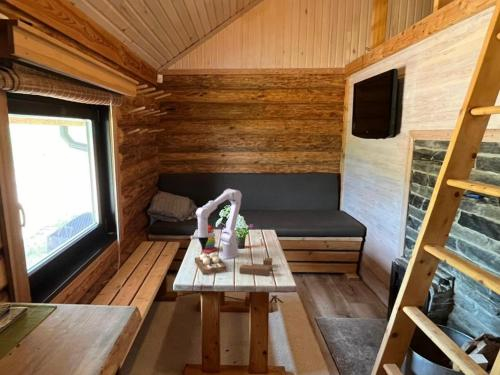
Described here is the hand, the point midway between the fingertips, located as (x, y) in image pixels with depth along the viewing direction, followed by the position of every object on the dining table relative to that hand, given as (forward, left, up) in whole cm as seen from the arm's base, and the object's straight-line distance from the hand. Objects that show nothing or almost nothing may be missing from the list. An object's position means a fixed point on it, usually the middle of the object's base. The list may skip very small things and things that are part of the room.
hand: (203, 249), depth 196 cm
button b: (0, +6, -7) cm, 9 cm away
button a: (0, 0, -7) cm, 7 cm away
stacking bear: (-9, -22, -10) cm, 26 cm away
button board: (-3, +4, -10) cm, 11 cm away
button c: (-6, 0, -7) cm, 9 cm away
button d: (-6, +6, -7) cm, 11 cm away
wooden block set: (-27, +18, -10) cm, 35 cm away
